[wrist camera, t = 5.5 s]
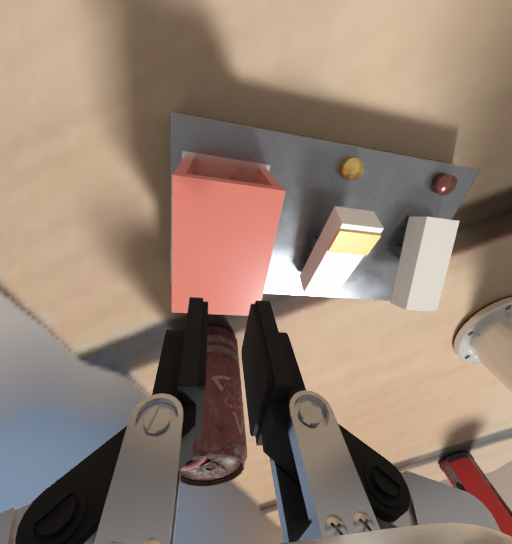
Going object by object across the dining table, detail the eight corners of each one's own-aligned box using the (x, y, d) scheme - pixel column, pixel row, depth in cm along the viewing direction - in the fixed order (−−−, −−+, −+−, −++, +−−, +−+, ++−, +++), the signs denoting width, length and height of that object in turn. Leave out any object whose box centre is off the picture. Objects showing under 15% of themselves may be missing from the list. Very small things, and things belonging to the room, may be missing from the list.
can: (191, 319, 30) (175, 452, 18) (243, 328, 32) (258, 455, 20) (180, 354, 33) (160, 490, 21) (228, 361, 35) (235, 489, 23)
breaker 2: (439, 220, 24) (459, 221, 22) (419, 304, 25) (436, 311, 23) (408, 216, 23) (427, 216, 21) (390, 302, 25) (405, 309, 23)
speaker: (448, 451, 61) (525, 565, 46) (475, 449, 62) (559, 558, 47) (432, 467, 65) (498, 576, 50) (458, 464, 66) (530, 570, 51)
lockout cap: (267, 168, 20) (285, 190, 14) (248, 270, 24) (258, 316, 19) (184, 156, 18) (172, 174, 13) (181, 265, 23) (171, 312, 18)
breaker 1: (373, 211, 20) (385, 230, 18) (330, 278, 26) (336, 296, 24) (334, 206, 19) (343, 225, 18) (299, 275, 25) (303, 294, 24)
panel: (452, 163, 25) (492, 173, 21) (389, 286, 32) (411, 308, 28) (176, 112, 20) (167, 112, 16) (174, 270, 27) (168, 295, 23)
